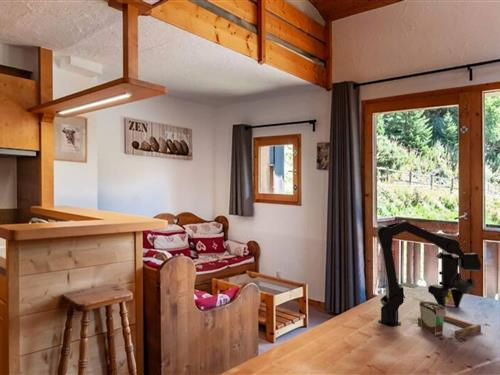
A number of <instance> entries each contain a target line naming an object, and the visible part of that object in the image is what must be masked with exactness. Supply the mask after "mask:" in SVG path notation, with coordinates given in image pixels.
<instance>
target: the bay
mask: <svg viewBox="0 0 500 375" xmlns="http://www.w3.org/2000/svg"><path fill="white" fill-rule="evenodd" d="M443 321H445V322H448V323H451V324H454V325H456V326H460V327H462V328H459V329H457V330H456V329H455V330H454V338H455V339H461V338H465V337H468V336H471V335H474V334H477V333H480V332H481V331H482V325H481V324H480V323H479V324H478V323H476V324H475V323H472V322H469V321H465V320H463V319H459V318H457V317H454V316H450V315H447V314H446V315H444V320H443ZM417 324H418V325H421V316H418V317H417Z"/></svg>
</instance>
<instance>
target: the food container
mask: <svg viewBox="0 0 500 375" xmlns="http://www.w3.org/2000/svg"><path fill="white" fill-rule="evenodd" d="M418 305H419V308H420V317H421V327H420V328H422V329H423V330H425V331H426V332H428V333H429V334H430V335H432V336H433V337H441V336H442V335H443V331H444V321H445V320H444V315H447V312H446V307H445V308H444V307H443V306H442V305H440V304H438V303H437V302H432V301H426V300H425V301H424V300H421V301H419V304H418Z"/></svg>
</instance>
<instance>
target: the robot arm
mask: <svg viewBox="0 0 500 375" xmlns="http://www.w3.org/2000/svg"><path fill="white" fill-rule="evenodd" d="M404 232H407V233H409V234H412V235H413V236H416V237H418V238H420V239H423V240H425V241H427V242H430V243H431V244H433V245H435V247H437V248H439V249H440V250H442V251H444V252H446V253H444V252H442V251H440V252H438V254H436V255H435V257H436V258H437V259H439V260H441V271H438V274H439V275H441V281H439V284H436V283H435V284H431V285H429V286H428V287H427V289H428V290H427V292H428V293H430V295H432V296H433V297H434V299H435V301H436V303H437V304H440V305H442V306H443V307H444V308H445V309H446V305H445V302H446V298H447V297H448V296H449V295H447V294H448V290H451V293H452V297H453V301H454V305H455V307H454V308H457V309H458V308H460V307H459V306H460V304H461V302H462V299H463V297H464V295H466V294H469V293H472V291H473V289H476V282H475V281H476V280H475V279H473V278H467V279H466V278H463V277H462V274H461V273H460V272H459V268H460V269H461V271H470V272H471V271H472V272H473V271H474V272H478V271H479V272H480V271H481V269H482V268H481V267H482V262H481V261H480V258H479V254H478V253H477V252H471V253H469V252H467V253H465V252H464V251H463V250H462V249H461V247H460V246H461V244H460V242H459V241H457V240H456V239H454V238H452V237H448V236H444V235H441V234H436V233H433V232H431V231H429V230H426V229H424V228H421V227H419V226H417V225H415V224H412V223H410V222H409V221H406V220H404V219H403V220H400V221H398V222H394V223H390V224H387V225H384V224H381V225H378V226H377V227H376V228H375V236H376V238H377V241H378V242H377V243H378V244H379V246H380V248H381V249H380V250H381V255H382V261H383V266H384V267H383V269H384V273H385V279H386V282H385V283H386V284H385V294H384V296H382V297H381V298H380V299H379V300H380V303H381V305H382V306H381V308H380V319H378V320H377V322H378V323H380V324H384V325H386V326H388V327H393V326H398V325H401V324H402V322H401V321H399V308H400V307H401V306H402V305H403V303H404V300H405V299H406V296H405V295H404V293H405V292H404V287H403V286H402V285H401V284H400V283H398V279H397V272H396V266H395V260H394V254H393V238H394V236H398V235H400V234H402V233H404ZM453 255H455V256H453Z"/></svg>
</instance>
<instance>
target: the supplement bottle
mask: <svg viewBox="0 0 500 375" xmlns="http://www.w3.org/2000/svg"><path fill="white" fill-rule="evenodd" d="M447 295H449V296H448V297H447V298H446V302H445V307H451V308H456V307H455V305H454V301H453V297H452V293H451V290H448V294H447Z"/></svg>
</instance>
